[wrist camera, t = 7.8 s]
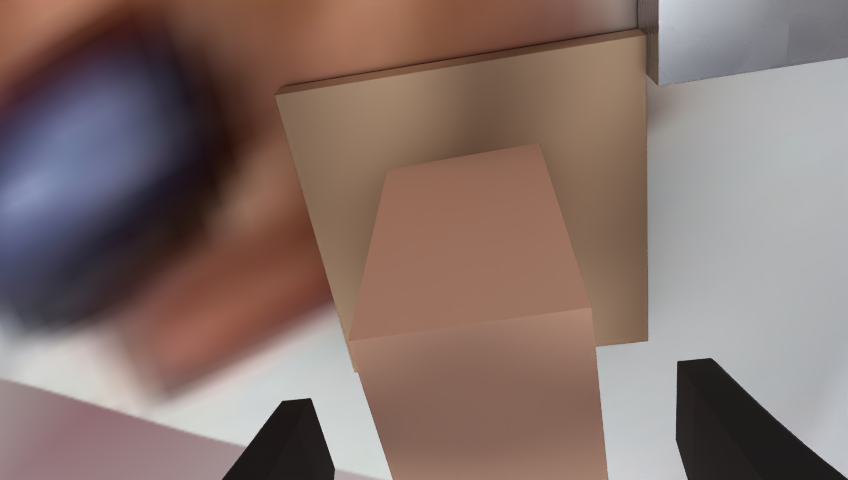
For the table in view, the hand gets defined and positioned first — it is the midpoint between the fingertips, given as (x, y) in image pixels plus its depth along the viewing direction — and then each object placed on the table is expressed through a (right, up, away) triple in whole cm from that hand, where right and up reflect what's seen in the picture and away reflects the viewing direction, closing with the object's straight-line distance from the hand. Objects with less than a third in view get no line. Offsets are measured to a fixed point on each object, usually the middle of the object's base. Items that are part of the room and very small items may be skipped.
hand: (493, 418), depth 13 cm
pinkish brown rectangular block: (0, +4, +7) cm, 8 cm away
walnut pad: (0, +4, +8) cm, 9 cm away
